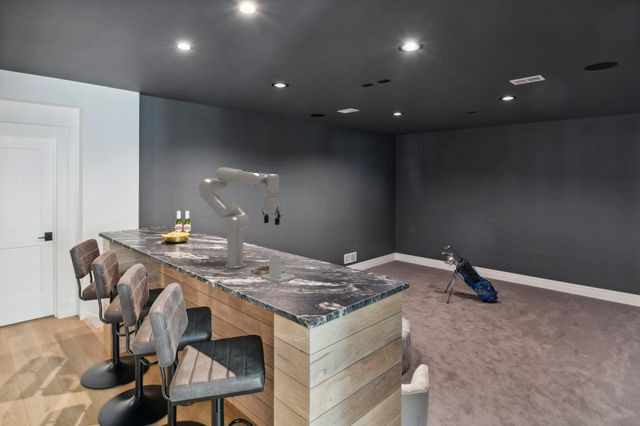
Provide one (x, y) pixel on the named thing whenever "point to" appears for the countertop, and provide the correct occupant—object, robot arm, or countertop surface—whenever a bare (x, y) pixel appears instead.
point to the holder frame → (260, 270)
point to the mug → (276, 266)
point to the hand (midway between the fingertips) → (271, 223)
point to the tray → (283, 279)
